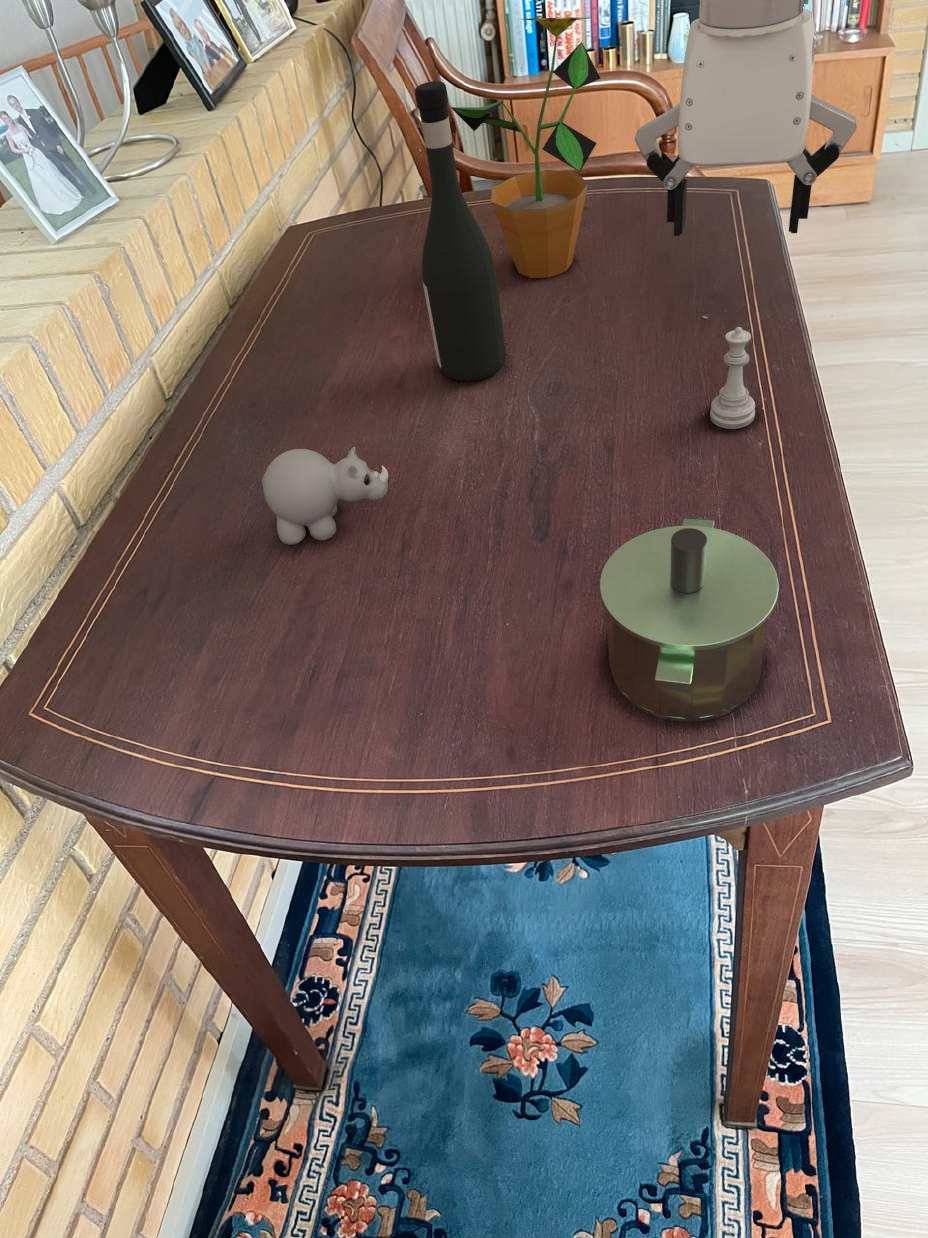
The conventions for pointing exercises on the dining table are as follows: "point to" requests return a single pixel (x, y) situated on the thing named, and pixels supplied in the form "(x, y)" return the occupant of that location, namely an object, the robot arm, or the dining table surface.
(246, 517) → the dining table surface
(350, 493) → the toy rhinoceros
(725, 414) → the chess piece
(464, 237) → the wine bottle
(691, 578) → the pot lid
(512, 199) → the potted plant
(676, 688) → the pot
